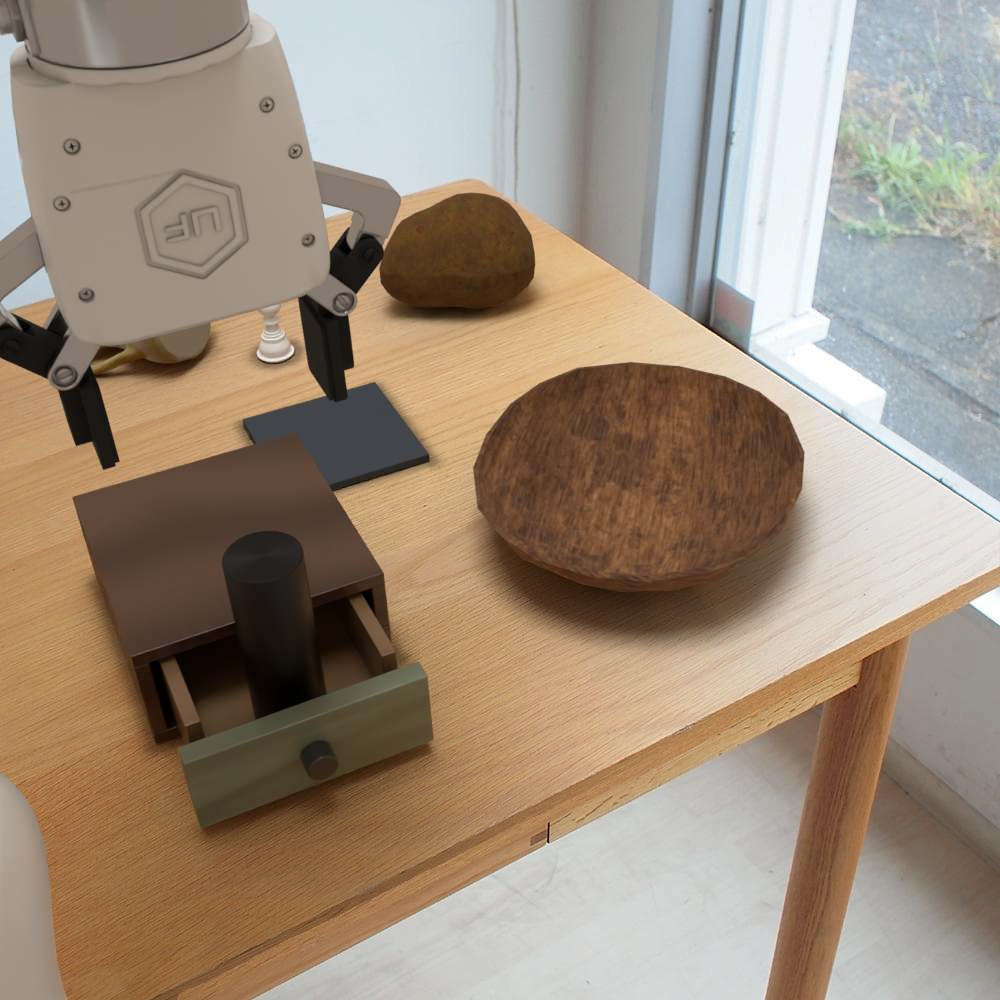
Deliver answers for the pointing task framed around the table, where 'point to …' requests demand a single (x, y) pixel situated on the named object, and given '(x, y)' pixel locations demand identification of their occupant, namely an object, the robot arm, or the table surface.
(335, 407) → the mat
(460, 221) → the potato
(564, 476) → the bowl
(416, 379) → the table surface
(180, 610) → the cabinet
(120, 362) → the mug
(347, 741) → the drawer
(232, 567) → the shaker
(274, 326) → the chess pawn
